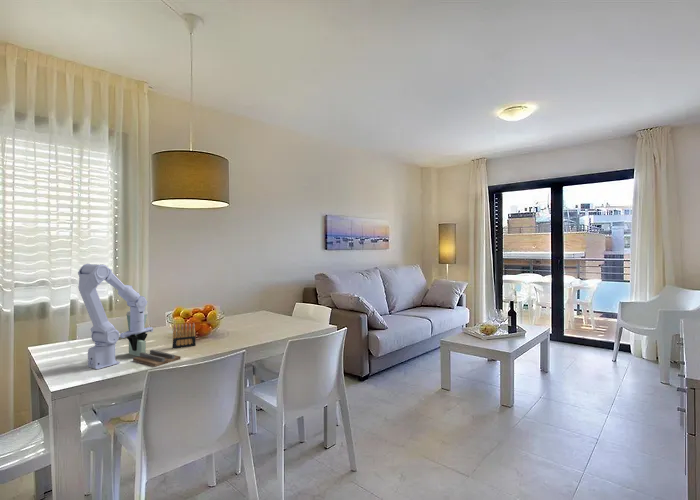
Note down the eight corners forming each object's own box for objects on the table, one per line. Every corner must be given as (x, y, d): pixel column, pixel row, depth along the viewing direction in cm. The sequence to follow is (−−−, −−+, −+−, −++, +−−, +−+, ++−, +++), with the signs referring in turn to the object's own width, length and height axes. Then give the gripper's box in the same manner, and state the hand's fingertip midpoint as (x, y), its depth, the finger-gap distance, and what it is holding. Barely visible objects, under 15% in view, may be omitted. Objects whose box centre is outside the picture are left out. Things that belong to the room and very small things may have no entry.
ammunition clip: (172, 348, 182) (172, 324, 181) (172, 347, 183) (172, 324, 183) (195, 345, 187) (195, 322, 187) (195, 345, 189) (195, 322, 188)
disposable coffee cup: (124, 336, 205) (124, 309, 204) (145, 333, 212) (146, 307, 211) (127, 340, 197) (127, 312, 196) (149, 336, 203) (150, 310, 203)
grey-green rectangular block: (141, 357, 168) (141, 342, 167) (128, 353, 172) (128, 339, 172) (145, 355, 169) (145, 341, 169) (132, 352, 174) (132, 338, 174)
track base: (155, 366, 155) (155, 360, 155) (133, 360, 162) (133, 354, 162) (180, 359, 165) (180, 353, 165) (158, 353, 173) (158, 348, 173)
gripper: (146, 317, 179) (146, 344, 179) (116, 322, 166) (116, 352, 166) (155, 318, 175) (155, 346, 176) (125, 324, 163) (125, 354, 163)
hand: (137, 349), depth 171 cm, fingers closed on grey-green rectangular block, 2 cm apart
